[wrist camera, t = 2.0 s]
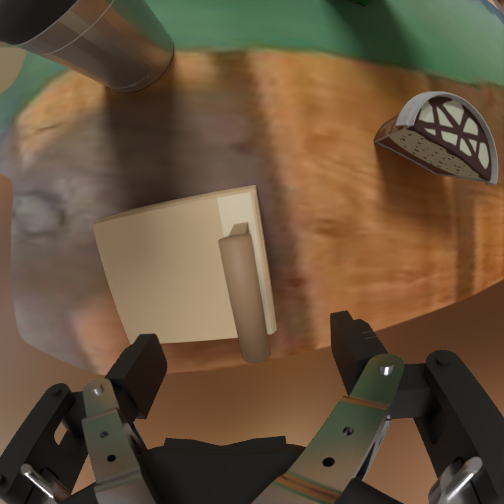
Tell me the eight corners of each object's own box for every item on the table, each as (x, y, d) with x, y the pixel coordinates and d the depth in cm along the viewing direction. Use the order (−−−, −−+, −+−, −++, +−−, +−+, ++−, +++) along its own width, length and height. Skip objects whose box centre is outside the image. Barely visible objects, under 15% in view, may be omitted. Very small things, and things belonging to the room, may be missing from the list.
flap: (95, 223, 21) (45, 243, 14) (252, 191, 20) (250, 198, 13) (132, 341, 24) (102, 386, 17) (274, 329, 23) (279, 383, 16)
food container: (453, 136, 25) (507, 131, 15) (444, 179, 27) (499, 186, 17) (373, 89, 24) (417, 60, 15) (361, 136, 26) (407, 121, 16)
